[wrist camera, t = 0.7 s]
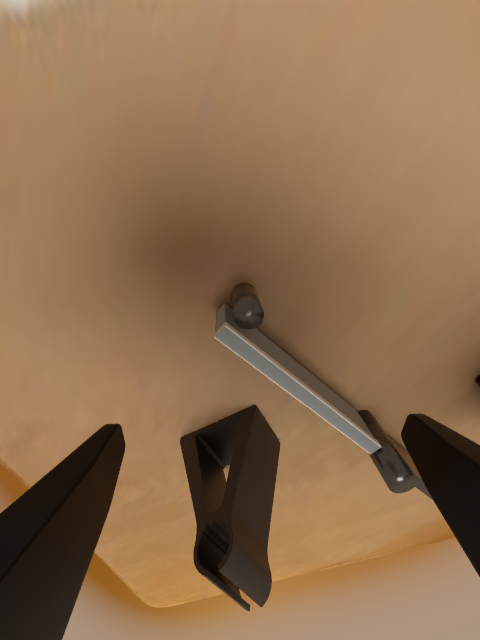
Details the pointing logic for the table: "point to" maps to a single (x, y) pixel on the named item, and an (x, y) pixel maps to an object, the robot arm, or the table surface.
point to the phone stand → (233, 502)
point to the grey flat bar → (292, 378)
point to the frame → (391, 455)
